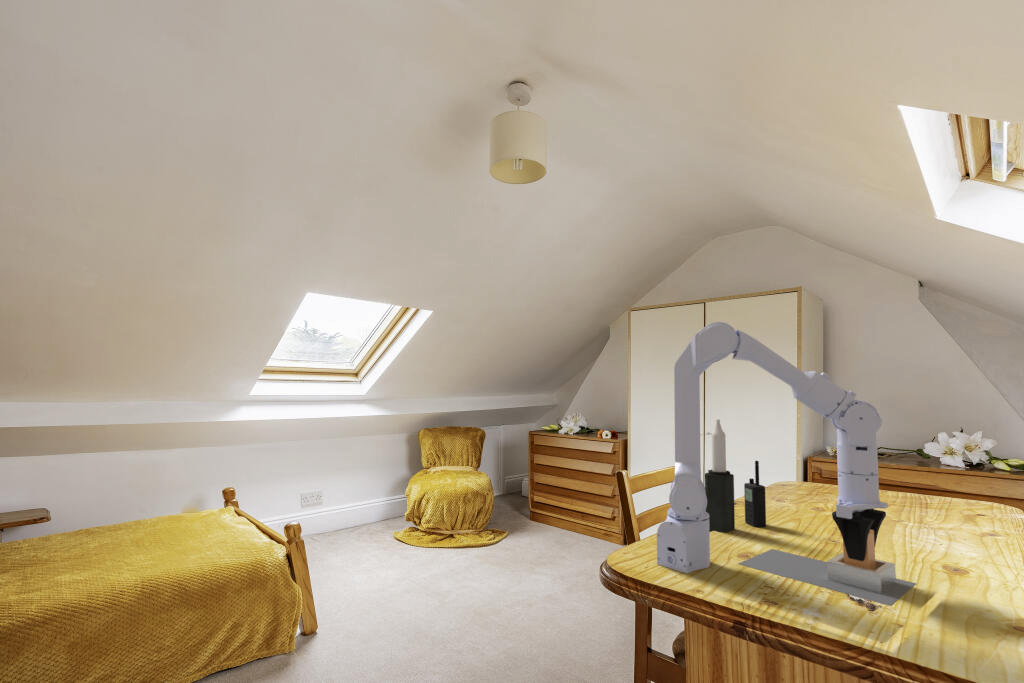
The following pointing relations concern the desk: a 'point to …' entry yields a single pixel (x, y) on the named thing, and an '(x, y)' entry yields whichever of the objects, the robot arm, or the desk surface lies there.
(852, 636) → the desk surface
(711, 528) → the black nozzle bottle
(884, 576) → the end holder
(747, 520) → the walkie-talkie
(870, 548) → the connector plug
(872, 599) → the mat
